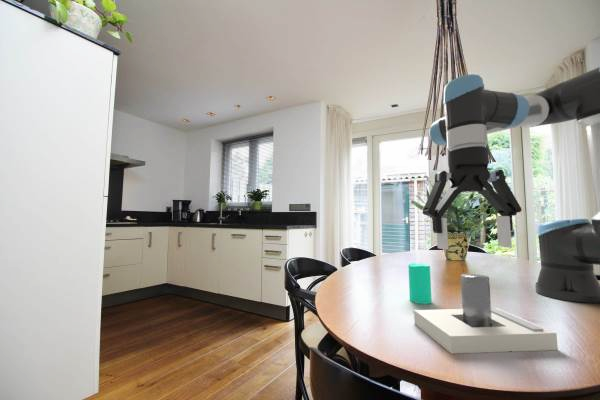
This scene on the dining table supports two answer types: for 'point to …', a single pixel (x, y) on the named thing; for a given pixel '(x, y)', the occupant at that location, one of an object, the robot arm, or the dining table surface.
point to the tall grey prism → (476, 300)
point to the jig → (484, 332)
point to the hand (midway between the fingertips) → (474, 247)
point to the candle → (420, 283)
